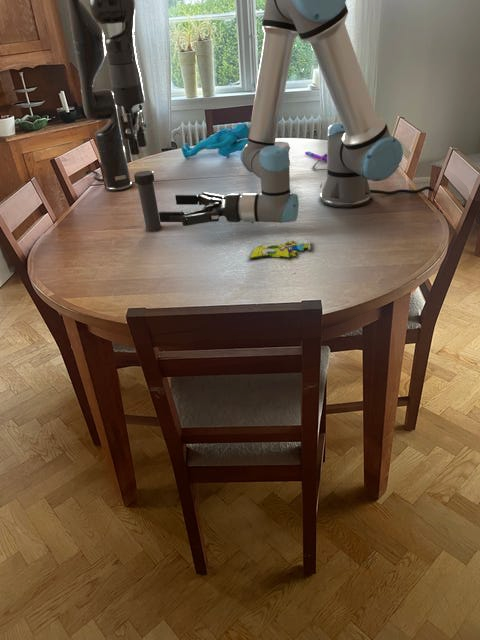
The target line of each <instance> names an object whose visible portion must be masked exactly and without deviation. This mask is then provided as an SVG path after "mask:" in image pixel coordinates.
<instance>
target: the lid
mask: <svg viewBox="0 0 480 640" xmlns="http://www.w3.org/2000/svg"><path fill="white" fill-rule="evenodd" d="M133 179H134V183H135V184H136V185H138V184H148V183H152V182H153V183H154V181H155V175H154V171H152V170H140V171H138V172H137V171H136V172H134V174H133Z"/></svg>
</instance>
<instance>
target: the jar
mask: <svg viewBox="0 0 480 640" xmlns="http://www.w3.org/2000/svg"><path fill="white" fill-rule="evenodd" d="M137 188H138V193H139V194H138V195H139V199H140V203H141V204H140V205H141V208H142V214H143V220H144V225H145V229H146V231H147V232H150V233H153V232H158V231H160V230H161V229H162V224H161V222H160V217H159V208H158V203H157V202H158V201H157V197H156V191H155V186H154V181H153V182H152V183H148V184H137Z"/></svg>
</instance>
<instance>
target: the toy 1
mask: <svg viewBox="0 0 480 640" xmlns="http://www.w3.org/2000/svg"><path fill="white" fill-rule="evenodd" d="M249 131H250V128H249V126H248V124H246V123H239V124H236V125H235V126H234V127H233V128H221V129H220V130H219V131H217V132H215V133H214V134H212V135H209V137H206V138H204V139H201V140H200V141H199V142H197V143H196V144H195V145H194V146H193V147H190V145H189V143H187V142H186V143H184V146H183V145H182V146H181V147H180V149H181V153H182V155H183V157H184V158H185V159H187V158H190V157H194V156H196V155H198V153H200V152H201V151H203V150H206V151H208V150H217V154H218V155H220V156H223V157H228V156H229V155H230V154H232V153H233V154H234V153H236V152H239V151H240V152H241V151H242V149H243V148H244V147H245V145H247V142H248V136H249Z"/></svg>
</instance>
